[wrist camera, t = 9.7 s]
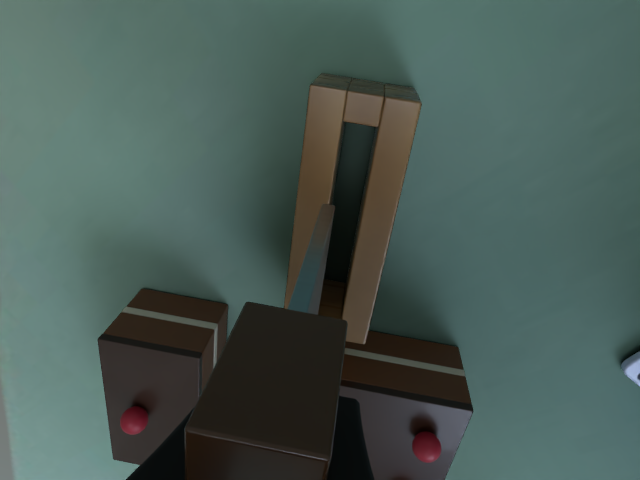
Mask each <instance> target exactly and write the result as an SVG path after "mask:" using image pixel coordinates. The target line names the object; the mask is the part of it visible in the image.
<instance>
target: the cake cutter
mask: <svg viewBox="0 0 640 480" xmlns="http://www.w3.org/2000/svg"><path fill="white" fill-rule="evenodd" d="M334 212H335V206H334V205H329V204H322V207H321V210H320V213H319V216H318V219H317V222H316V225H315V228H314V231H313V234H312V237H311V240H310V243H309V246H308V249H307V252H306V255H305V258H304V261H303V264H302V267H301V270H300V273H299V276H298V279H297V282H296V285H295V288H294V291H293V294H292V297H291V300H290V303H289V306H288V309H285V308H279V307H274V306H269V305H264V304H258V303H253V302H246V303H245V305H244V307H243V309H242V311H241V313H240V315H239V317H238V319H237V321H236V323H235V325H234V327H233V329H232V331H231V333H230V335H229V338H228V340H227V342H226V344H225V346H224V348H223V350H222V352H221V354H220V356H219V358H218V360H217V362H216V364H215V366H214V368H213V370H212V373H211V375H210V377H209V379H208V381H207V383H206V385H205V387H204V389H203V391H202V393H201V395H200V397H199V399H198V401H197V403H196V406H195V408H194V410H193V412H192V414H191V416H190V418H189V420H188V422H187V424H186V426H185V428H184V432H185V480H327V476H328V472H329V467H330V463H331V458H332V450H333V441H334V433H335V425H336V417H337V409H338V401H339V393H340V385H341V377H342V368H343V360H344V352H345V344H346V336H347V328H348V323H347V321H346V320H343V319H338V318H332V317H327V316H322V315H318V311H319V305H320V299H321V292H322V286H323V280H324V274H325V268H326V261H327V255H328V249H329V243H330V236H331V230H332V224H333V218H334Z"/></svg>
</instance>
